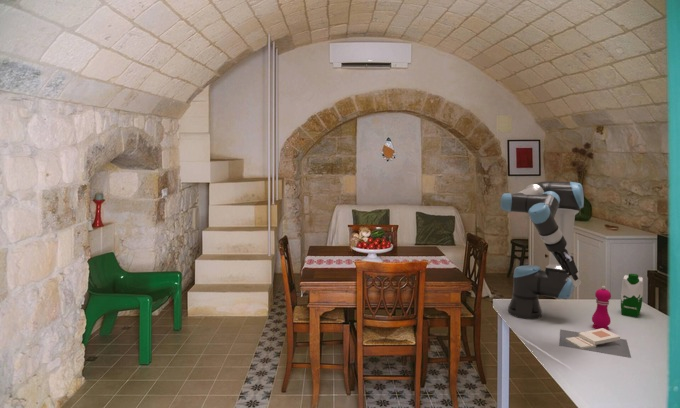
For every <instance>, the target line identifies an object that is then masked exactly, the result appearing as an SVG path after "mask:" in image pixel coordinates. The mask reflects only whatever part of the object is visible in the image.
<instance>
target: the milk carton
mask: <svg viewBox="0 0 680 408" xmlns="http://www.w3.org/2000/svg"><path fill="white" fill-rule="evenodd" d="M621 283H622V284H621V290H620V291H621V292H620V293H621V294H620V310H621V312H620V313H621V316H627V317H632V318H636V319H638V318H639V317H640V313H641V310H642V304H643V296H644V286H645V285H644V278H643V277H642V276H639V274H638V273H637V274H636V273H629V274H628V275H627V274H625V275H624V276H623V279H622V281H621Z"/></svg>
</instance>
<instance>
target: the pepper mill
mask: <svg viewBox="0 0 680 408" xmlns="http://www.w3.org/2000/svg"><path fill="white" fill-rule="evenodd" d="M594 295H595V297H596V301H595V303H596V308H595V311H594V313H593V314H592V317H591V322H592V323H593V324H592V328H593V329H594V330H596V329H601V328H604V329H606V330H608V331H609V330H610V329H609V328H610V327H609V326H610V324H611V323H612V322H611V317H610V314H609V312H608V311H609V310H608V306H609V305H610V300H611V298H612V295H611V291H609V290H608V289H607V287H606V286H605V285H602V286H601V288H599V289H597V290H596V291H595V294H594Z"/></svg>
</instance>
